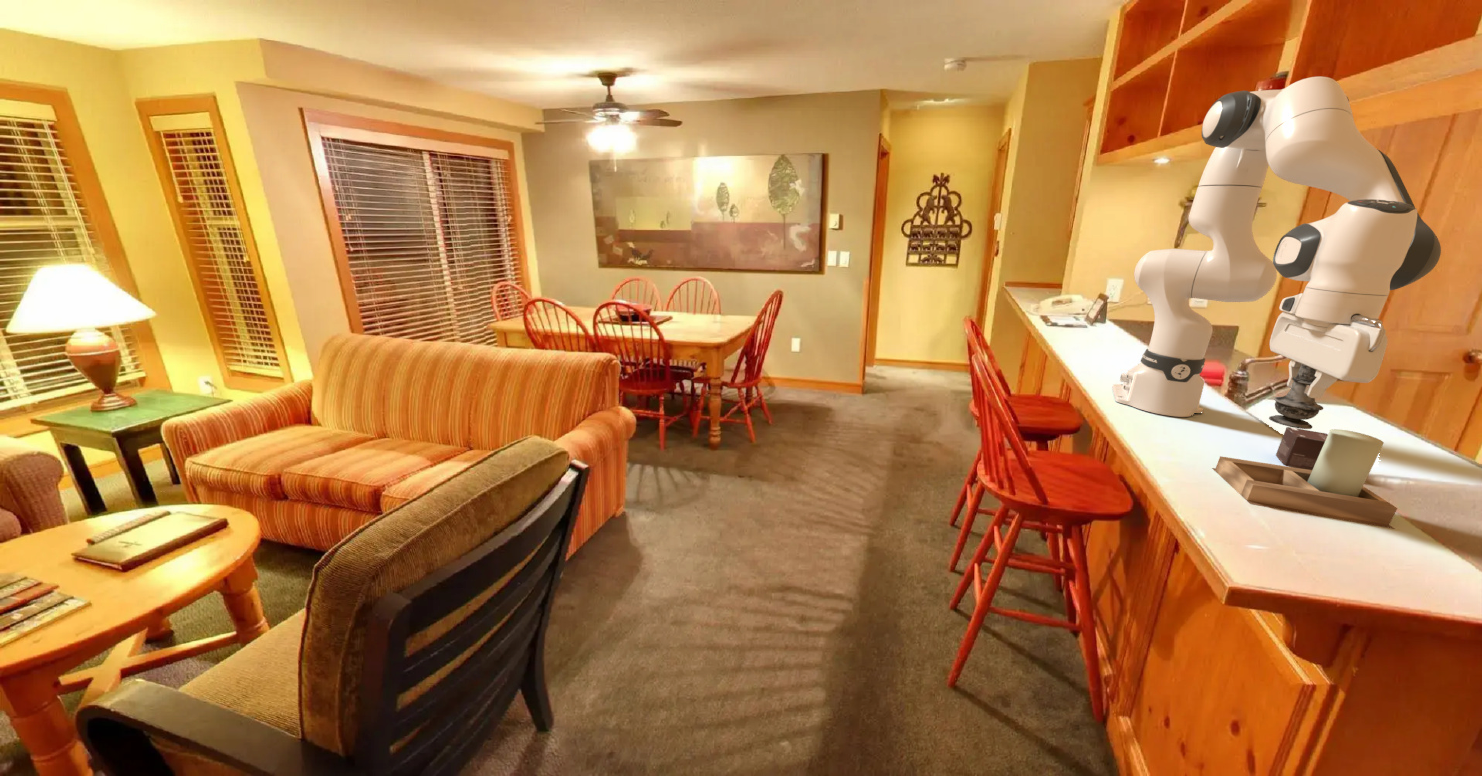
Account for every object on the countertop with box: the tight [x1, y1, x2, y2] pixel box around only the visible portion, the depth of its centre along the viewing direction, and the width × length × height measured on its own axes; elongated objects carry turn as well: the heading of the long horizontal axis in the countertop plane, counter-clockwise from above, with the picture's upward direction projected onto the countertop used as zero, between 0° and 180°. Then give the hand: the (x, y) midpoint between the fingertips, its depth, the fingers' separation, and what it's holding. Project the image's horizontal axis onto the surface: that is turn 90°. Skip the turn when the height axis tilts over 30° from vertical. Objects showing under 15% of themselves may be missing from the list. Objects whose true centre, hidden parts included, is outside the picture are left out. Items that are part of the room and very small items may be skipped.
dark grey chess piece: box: [1268, 364, 1324, 430], centre depth 87 cm, size 6×6×12 cm
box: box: [1275, 426, 1329, 470], centre depth 104 cm, size 6×6×7 cm
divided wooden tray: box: [1211, 456, 1398, 530], centre depth 92 cm, size 14×18×4 cm
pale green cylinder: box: [1307, 428, 1385, 497], centre depth 89 cm, size 6×6×12 cm
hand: (1303, 392), depth 88 cm, fingers closed on dark grey chess piece, 3 cm apart
